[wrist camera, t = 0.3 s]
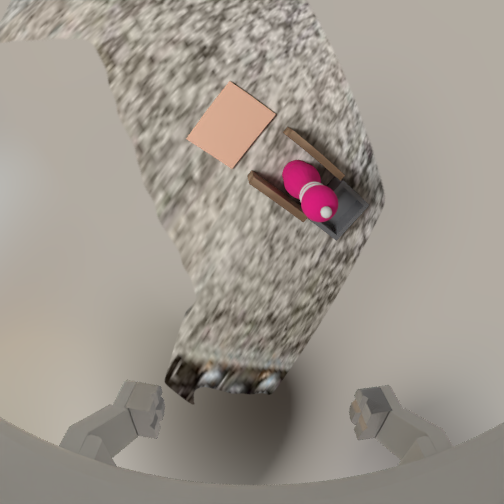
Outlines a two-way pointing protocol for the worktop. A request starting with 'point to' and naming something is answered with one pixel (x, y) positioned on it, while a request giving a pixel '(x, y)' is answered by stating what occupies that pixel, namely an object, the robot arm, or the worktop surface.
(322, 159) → the walnut channel
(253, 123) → the terracotta board
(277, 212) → the worktop surface
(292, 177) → the pepper mill
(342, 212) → the box
